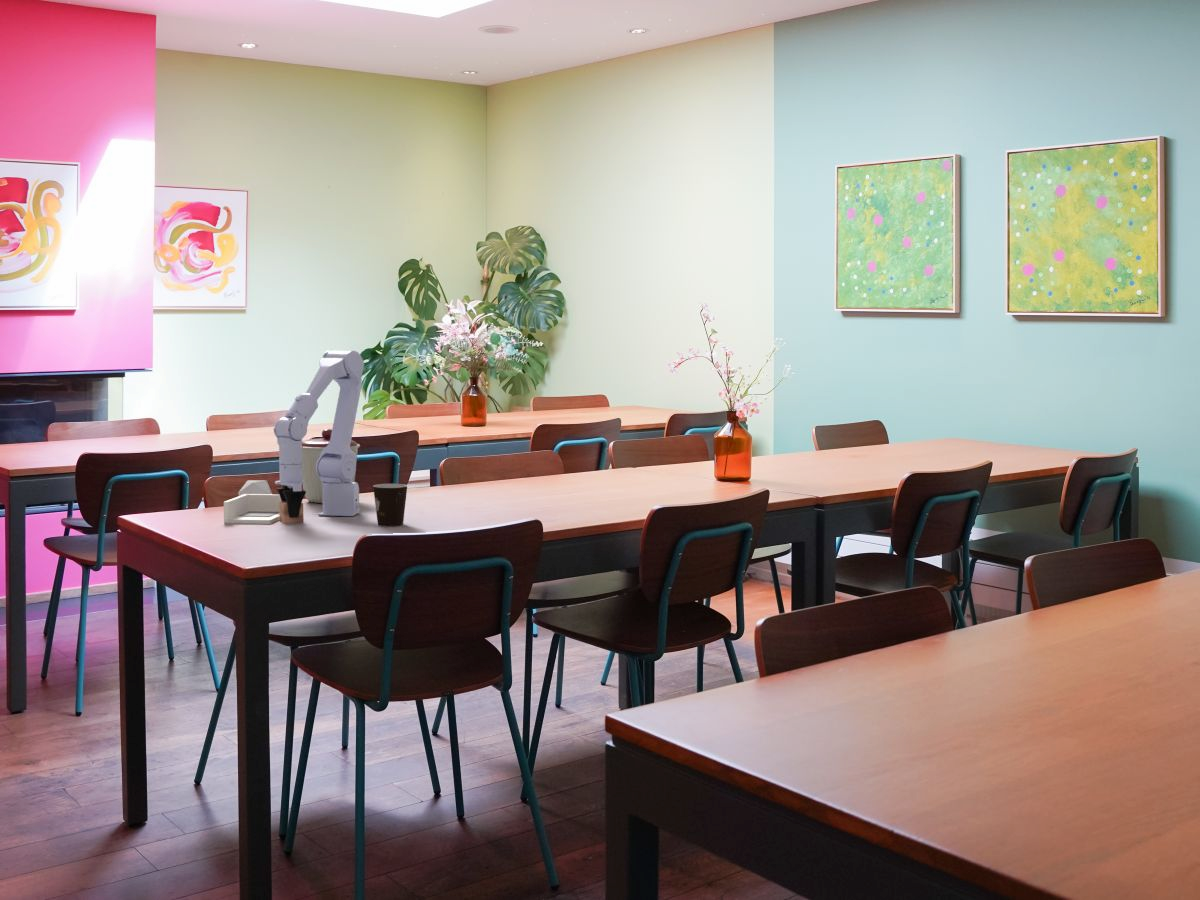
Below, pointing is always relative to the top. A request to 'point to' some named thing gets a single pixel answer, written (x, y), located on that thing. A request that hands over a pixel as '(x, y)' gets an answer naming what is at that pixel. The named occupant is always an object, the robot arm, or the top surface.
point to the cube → (285, 515)
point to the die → (255, 487)
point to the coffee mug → (390, 503)
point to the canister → (309, 460)
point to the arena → (252, 509)
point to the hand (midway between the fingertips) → (291, 516)
